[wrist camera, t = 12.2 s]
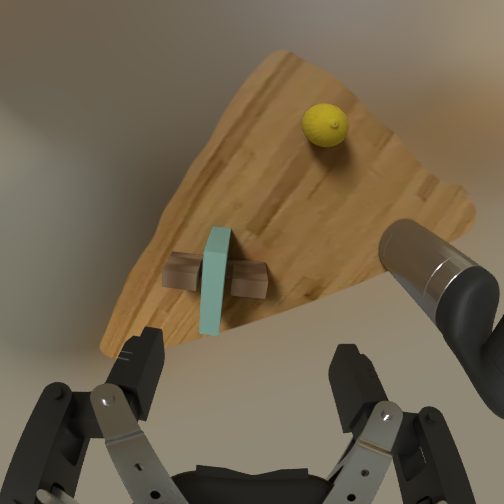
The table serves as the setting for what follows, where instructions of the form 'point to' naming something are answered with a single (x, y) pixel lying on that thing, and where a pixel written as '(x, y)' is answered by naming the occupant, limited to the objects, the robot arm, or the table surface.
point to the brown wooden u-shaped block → (240, 271)
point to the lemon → (325, 125)
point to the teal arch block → (213, 280)
